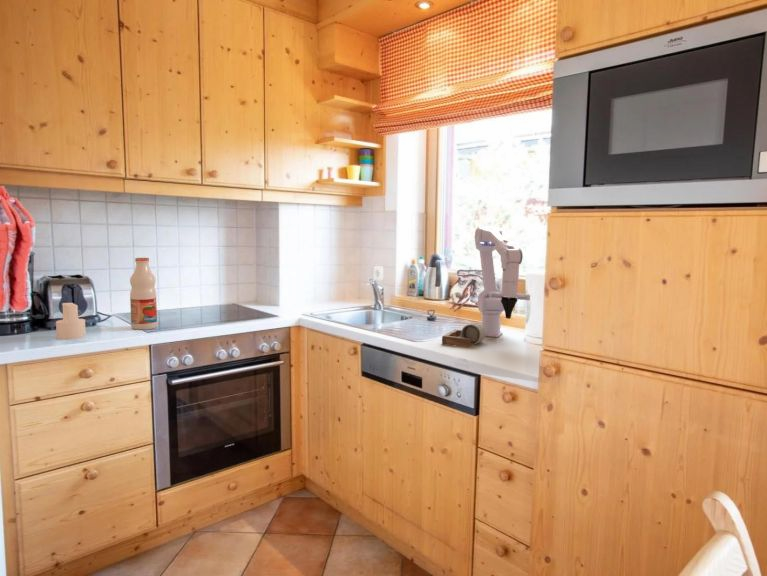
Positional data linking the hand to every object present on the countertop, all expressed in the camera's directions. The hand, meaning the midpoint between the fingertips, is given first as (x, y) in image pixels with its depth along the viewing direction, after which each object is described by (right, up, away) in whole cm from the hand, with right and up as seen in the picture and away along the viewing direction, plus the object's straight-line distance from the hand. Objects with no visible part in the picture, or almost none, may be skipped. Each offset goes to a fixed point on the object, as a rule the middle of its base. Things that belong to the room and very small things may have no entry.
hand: (508, 318), depth 186 cm
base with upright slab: (-159, -7, -3) cm, 160 cm away
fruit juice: (-142, -5, +16) cm, 143 cm away
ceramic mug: (-14, -10, +3) cm, 17 cm away
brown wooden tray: (-16, -9, +3) cm, 19 cm away
